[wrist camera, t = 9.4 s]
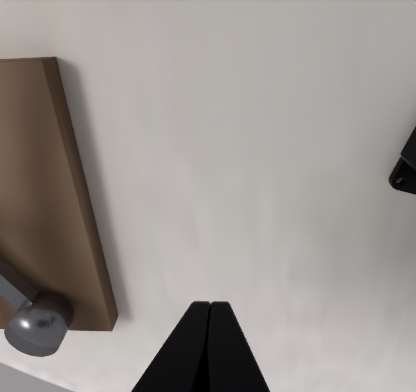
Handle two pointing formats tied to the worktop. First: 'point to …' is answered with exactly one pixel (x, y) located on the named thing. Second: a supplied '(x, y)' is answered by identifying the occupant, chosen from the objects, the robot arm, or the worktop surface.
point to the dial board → (48, 197)
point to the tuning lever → (33, 314)
